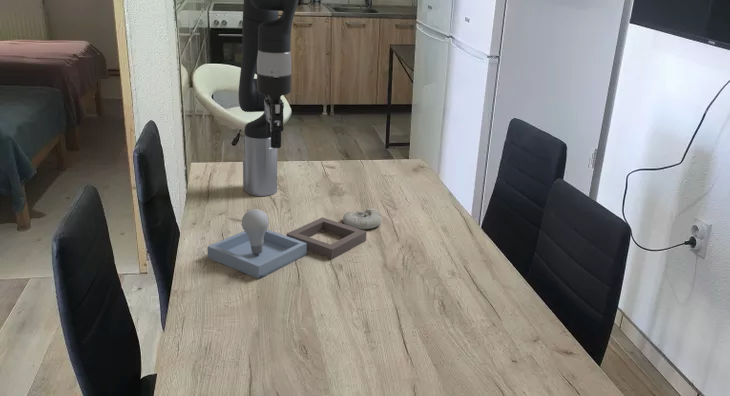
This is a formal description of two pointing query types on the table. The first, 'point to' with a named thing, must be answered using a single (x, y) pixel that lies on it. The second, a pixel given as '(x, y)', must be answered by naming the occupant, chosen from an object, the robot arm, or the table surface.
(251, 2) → the robot arm
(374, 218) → the fossil
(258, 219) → the lightbulb
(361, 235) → the brownish grey square frame
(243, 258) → the tray
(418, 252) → the table surface
